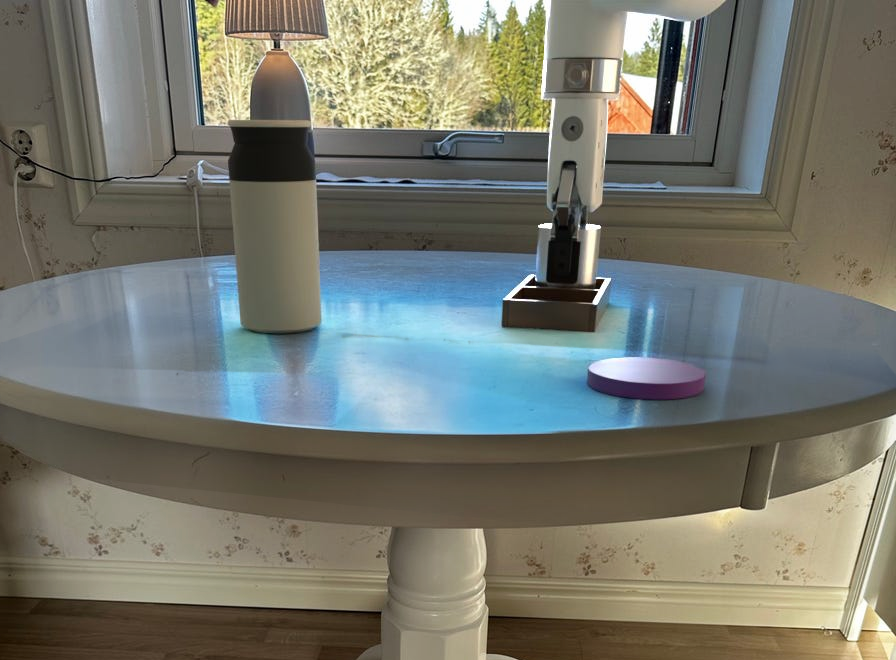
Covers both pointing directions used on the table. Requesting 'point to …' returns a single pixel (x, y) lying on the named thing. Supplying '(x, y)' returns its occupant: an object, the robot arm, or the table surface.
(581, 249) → the brushed metal canister
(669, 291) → the table surface
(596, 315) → the divided storage tray
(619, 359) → the purple lid
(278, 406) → the table surface
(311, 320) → the travel mug
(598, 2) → the robot arm
